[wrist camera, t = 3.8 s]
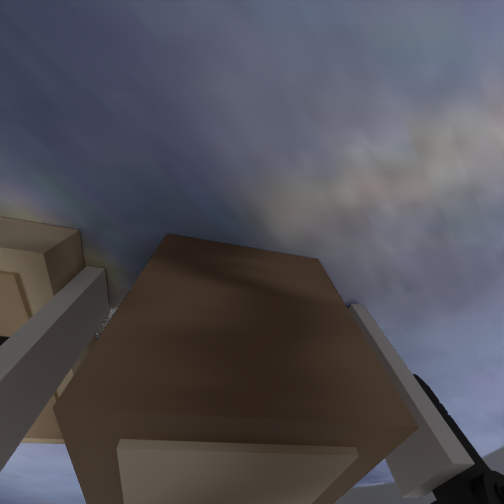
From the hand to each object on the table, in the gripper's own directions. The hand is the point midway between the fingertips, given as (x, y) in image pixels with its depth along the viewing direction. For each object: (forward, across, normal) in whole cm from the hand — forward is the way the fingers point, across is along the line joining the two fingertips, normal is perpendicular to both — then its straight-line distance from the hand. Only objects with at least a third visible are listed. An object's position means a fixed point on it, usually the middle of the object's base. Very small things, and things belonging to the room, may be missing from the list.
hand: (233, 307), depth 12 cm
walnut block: (0, 0, 0) cm, 0 cm away
